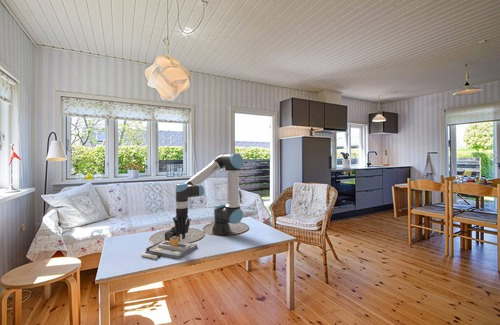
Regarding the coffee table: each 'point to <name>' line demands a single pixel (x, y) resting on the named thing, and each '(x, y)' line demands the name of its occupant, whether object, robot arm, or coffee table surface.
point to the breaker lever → (174, 241)
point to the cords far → (150, 255)
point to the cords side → (152, 246)
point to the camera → (171, 233)
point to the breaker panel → (173, 249)
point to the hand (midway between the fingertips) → (182, 243)
